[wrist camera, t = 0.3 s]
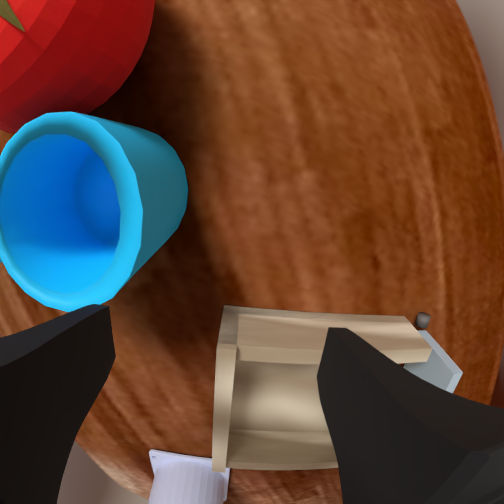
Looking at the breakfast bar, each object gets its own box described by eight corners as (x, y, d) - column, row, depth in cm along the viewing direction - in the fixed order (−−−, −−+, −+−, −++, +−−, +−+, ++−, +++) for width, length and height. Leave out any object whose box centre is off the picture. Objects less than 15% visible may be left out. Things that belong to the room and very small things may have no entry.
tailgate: (380, 432, 22) (397, 476, 17) (372, 433, 22) (389, 478, 17) (425, 330, 19) (462, 372, 14) (417, 330, 19) (453, 373, 14)
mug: (163, 106, 16) (104, 72, 9) (207, 231, 19) (178, 282, 11) (23, 183, 17) (-58, 202, 10) (61, 284, 20) (-5, 338, 12)
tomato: (30, 155, 17) (-91, 170, 6) (34, 7, 13) (-52, -35, 3) (186, 110, 17) (103, 52, 6) (173, -47, 13) (130, -145, 2)
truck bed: (373, 430, 24) (388, 468, 19) (216, 430, 24) (211, 475, 19) (423, 309, 20) (457, 343, 16) (224, 296, 20) (217, 338, 15)
